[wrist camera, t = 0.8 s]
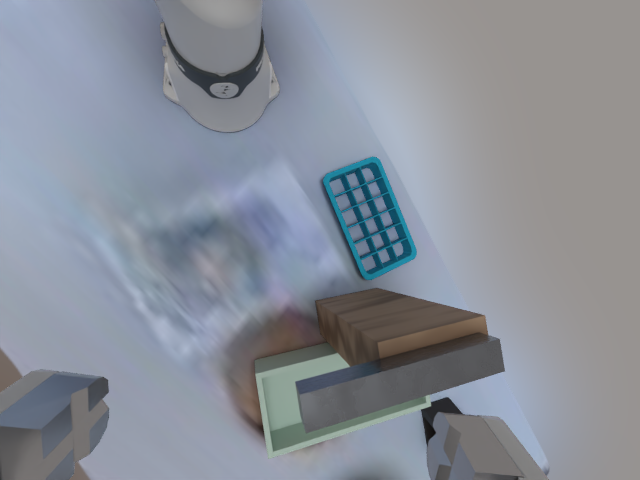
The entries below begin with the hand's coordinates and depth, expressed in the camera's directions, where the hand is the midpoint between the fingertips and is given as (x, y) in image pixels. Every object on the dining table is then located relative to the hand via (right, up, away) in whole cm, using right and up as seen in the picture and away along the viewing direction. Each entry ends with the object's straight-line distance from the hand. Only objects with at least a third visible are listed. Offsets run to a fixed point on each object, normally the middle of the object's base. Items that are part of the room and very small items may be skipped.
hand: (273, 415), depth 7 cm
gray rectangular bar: (+8, -8, +20) cm, 23 cm away
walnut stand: (+7, -8, +47) cm, 48 cm away
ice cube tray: (+10, +8, +49) cm, 50 cm away
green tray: (+4, -20, +46) cm, 50 cm away
